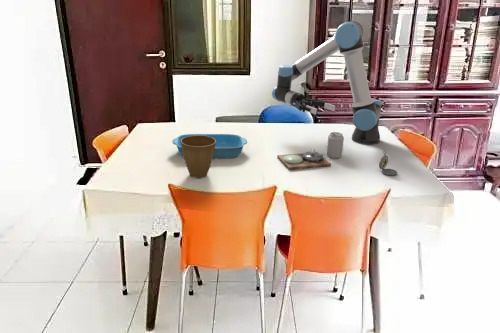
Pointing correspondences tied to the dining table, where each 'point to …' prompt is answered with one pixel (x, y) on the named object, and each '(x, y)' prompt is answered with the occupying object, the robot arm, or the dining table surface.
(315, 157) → the gear
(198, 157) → the plant pot
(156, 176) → the dining table surface
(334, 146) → the can
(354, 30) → the robot arm
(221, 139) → the casserole dish
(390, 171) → the pocket watch
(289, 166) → the gear board
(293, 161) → the output pad
